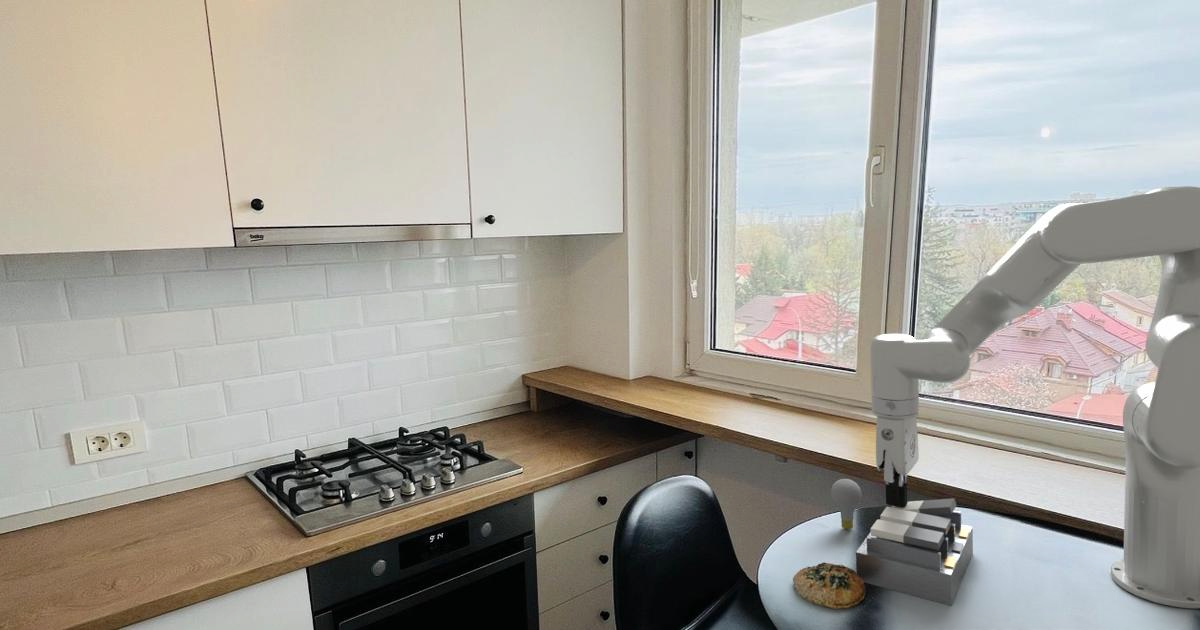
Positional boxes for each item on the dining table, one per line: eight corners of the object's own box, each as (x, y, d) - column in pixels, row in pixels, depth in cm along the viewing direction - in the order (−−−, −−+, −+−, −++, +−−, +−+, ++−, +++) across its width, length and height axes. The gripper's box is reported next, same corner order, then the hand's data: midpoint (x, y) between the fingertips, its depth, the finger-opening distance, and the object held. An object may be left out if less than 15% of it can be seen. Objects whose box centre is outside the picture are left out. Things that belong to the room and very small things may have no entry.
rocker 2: (950, 526, 107) (950, 518, 107) (945, 536, 104) (945, 528, 104) (887, 514, 113) (886, 506, 113) (880, 522, 110) (880, 515, 110)
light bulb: (865, 536, 121) (863, 485, 120) (834, 535, 122) (832, 485, 121) (859, 523, 126) (858, 474, 125) (830, 522, 127) (828, 474, 126)
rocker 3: (943, 540, 102) (943, 532, 102) (938, 551, 99) (938, 543, 99) (877, 526, 109) (877, 519, 109) (870, 536, 106) (870, 528, 106)
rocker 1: (956, 505, 111) (954, 498, 111) (952, 514, 108) (949, 506, 108) (897, 509, 117) (895, 502, 117) (891, 518, 114) (889, 510, 114)
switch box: (972, 554, 112) (972, 512, 111) (951, 605, 98) (950, 558, 97) (887, 535, 121) (886, 496, 120) (856, 580, 107) (855, 537, 106)
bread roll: (861, 574, 108) (859, 548, 107) (870, 622, 98) (868, 594, 97) (793, 572, 112) (790, 547, 110) (794, 618, 101) (791, 591, 100)
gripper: (906, 419, 105) (908, 526, 107) (928, 396, 116) (929, 493, 119) (859, 413, 109) (861, 516, 112) (884, 392, 121) (886, 485, 123)
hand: (896, 504), depth 115 cm, fingers closed
